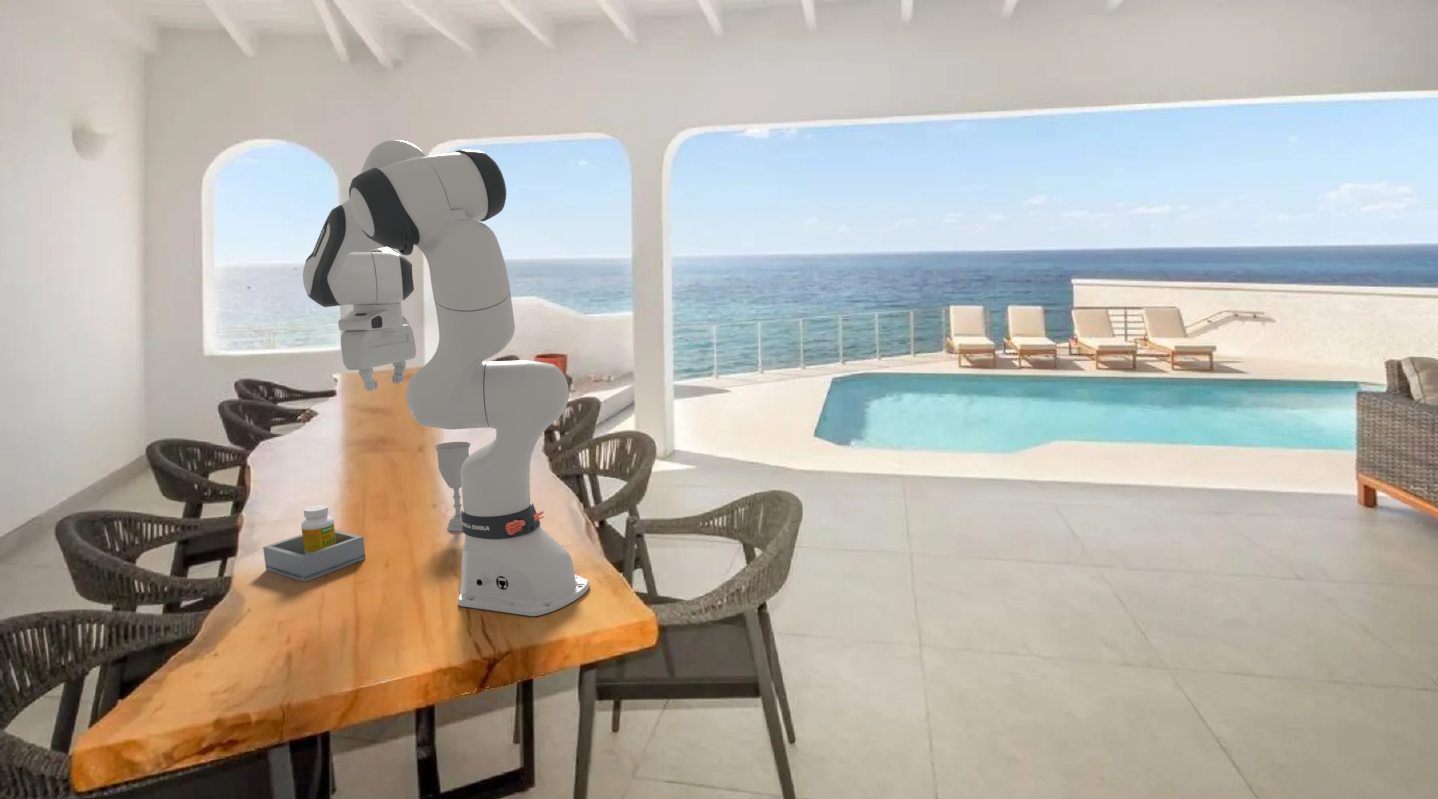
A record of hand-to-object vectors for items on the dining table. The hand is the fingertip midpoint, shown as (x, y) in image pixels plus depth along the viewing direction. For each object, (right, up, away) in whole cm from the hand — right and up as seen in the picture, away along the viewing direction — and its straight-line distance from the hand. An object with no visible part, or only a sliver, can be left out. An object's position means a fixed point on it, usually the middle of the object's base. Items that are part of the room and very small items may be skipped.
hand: (385, 386), depth 152 cm
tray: (-8, -34, -12) cm, 36 cm away
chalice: (+12, -30, +8) cm, 34 cm away
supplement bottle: (-7, -33, -11) cm, 35 cm away
